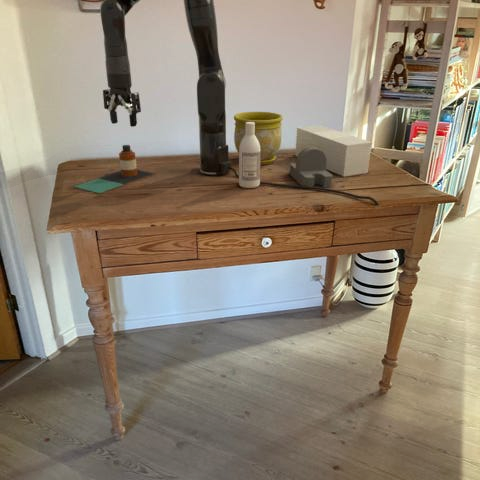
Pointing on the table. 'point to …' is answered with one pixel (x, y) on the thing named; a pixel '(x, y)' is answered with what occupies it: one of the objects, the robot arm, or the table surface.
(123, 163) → the soap bottle
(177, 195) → the table surface
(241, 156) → the bath foam
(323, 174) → the bracket
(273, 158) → the flowerpot
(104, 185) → the mat
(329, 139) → the white rectangular box
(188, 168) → the table surface
